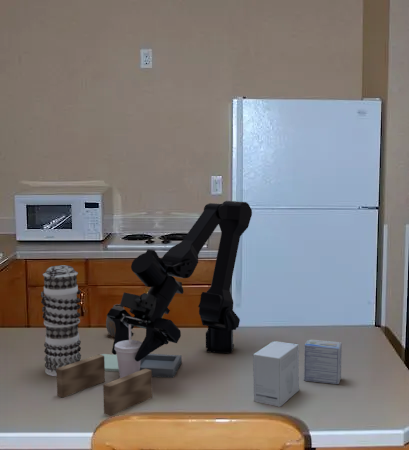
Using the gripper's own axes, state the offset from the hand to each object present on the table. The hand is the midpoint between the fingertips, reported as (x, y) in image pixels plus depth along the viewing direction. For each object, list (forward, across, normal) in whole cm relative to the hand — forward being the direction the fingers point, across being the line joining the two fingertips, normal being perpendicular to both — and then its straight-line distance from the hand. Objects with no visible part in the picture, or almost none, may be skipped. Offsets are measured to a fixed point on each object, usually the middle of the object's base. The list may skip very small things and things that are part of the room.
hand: (124, 357), depth 142 cm
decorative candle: (+6, -20, +4) cm, 21 cm away
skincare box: (-7, +28, +17) cm, 34 cm away
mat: (-2, -13, +12) cm, 18 cm away
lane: (+9, 0, +1) cm, 9 cm away
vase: (-13, -30, +24) cm, 41 cm away
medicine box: (-17, +32, +28) cm, 45 cm away
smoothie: (+4, 0, +6) cm, 7 cm away
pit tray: (-4, -3, +14) cm, 15 cm away
